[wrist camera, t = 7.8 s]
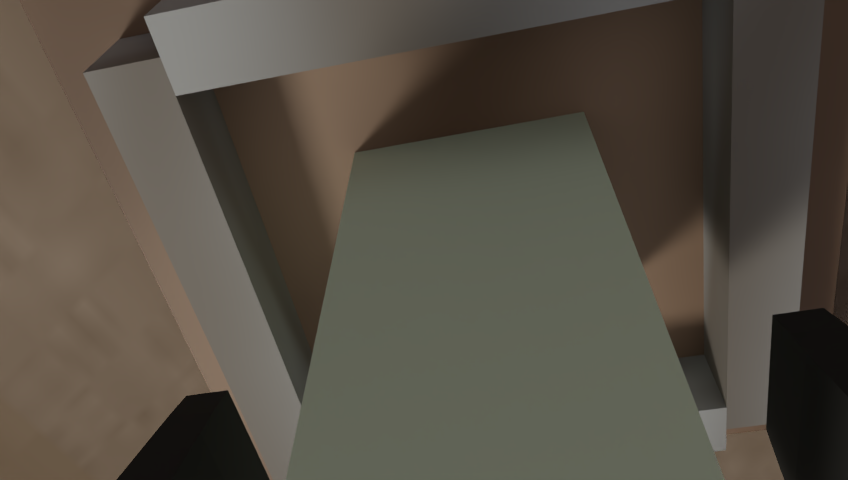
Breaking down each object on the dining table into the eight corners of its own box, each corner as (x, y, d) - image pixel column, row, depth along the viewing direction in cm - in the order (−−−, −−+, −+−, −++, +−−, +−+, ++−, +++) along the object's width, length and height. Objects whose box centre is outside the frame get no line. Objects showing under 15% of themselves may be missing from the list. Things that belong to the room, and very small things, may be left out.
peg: (583, 111, 13) (736, 513, 6) (602, 296, 15) (730, 744, 8) (354, 152, 13) (268, 563, 7) (403, 325, 16) (375, 769, 9)
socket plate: (863, -273, 11) (966, -277, 9) (802, 390, 18) (851, 477, 16) (17, -79, 12) (-69, -42, 10) (266, 458, 19) (245, 546, 17)
